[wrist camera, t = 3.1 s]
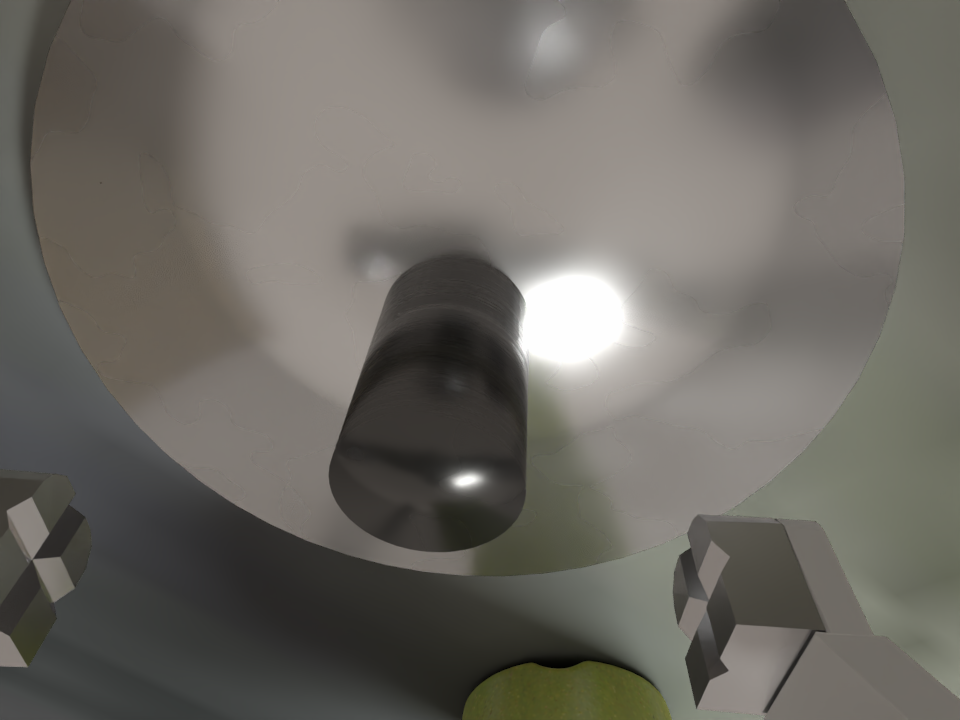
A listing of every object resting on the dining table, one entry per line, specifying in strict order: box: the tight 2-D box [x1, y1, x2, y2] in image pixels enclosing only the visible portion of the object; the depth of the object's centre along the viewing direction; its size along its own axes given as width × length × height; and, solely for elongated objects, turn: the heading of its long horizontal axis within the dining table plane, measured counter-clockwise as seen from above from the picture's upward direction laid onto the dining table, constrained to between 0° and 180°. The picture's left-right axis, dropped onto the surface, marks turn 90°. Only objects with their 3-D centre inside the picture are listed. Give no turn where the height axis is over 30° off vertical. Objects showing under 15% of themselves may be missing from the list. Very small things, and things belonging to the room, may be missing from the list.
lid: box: [30, 0, 905, 576], centre depth 11 cm, size 15×15×5 cm
